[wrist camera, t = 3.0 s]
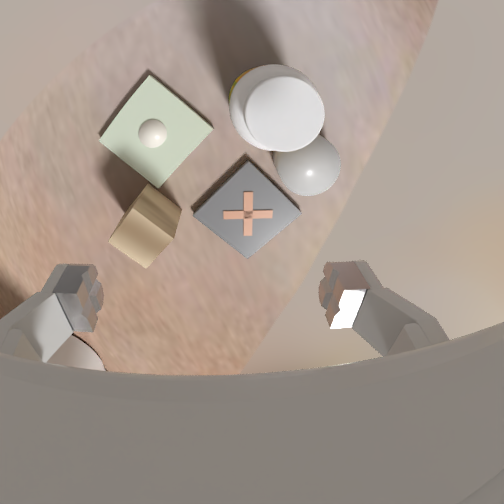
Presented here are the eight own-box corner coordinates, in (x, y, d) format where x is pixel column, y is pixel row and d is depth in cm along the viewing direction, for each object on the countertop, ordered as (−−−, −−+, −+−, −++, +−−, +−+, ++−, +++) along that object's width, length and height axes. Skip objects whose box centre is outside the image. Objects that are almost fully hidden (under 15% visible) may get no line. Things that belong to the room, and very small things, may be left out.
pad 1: (159, 186, 24) (158, 189, 24) (101, 139, 21) (98, 141, 20) (213, 128, 22) (213, 129, 21) (151, 75, 18) (149, 75, 18)
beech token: (157, 237, 27) (146, 268, 23) (124, 212, 25) (107, 241, 21) (181, 209, 26) (173, 238, 22) (148, 182, 24) (132, 207, 20)
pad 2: (247, 255, 29) (247, 259, 29) (193, 212, 26) (192, 216, 25) (300, 210, 27) (302, 214, 26) (248, 159, 23) (248, 161, 23)
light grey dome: (298, 192, 26) (306, 207, 23) (260, 155, 23) (265, 166, 21) (339, 157, 24) (352, 168, 22) (304, 116, 22) (314, 122, 19)
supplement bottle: (220, 75, 19) (216, 75, 11) (288, 61, 19) (328, 55, 11) (237, 136, 22) (244, 176, 14) (301, 122, 22) (344, 154, 14)
